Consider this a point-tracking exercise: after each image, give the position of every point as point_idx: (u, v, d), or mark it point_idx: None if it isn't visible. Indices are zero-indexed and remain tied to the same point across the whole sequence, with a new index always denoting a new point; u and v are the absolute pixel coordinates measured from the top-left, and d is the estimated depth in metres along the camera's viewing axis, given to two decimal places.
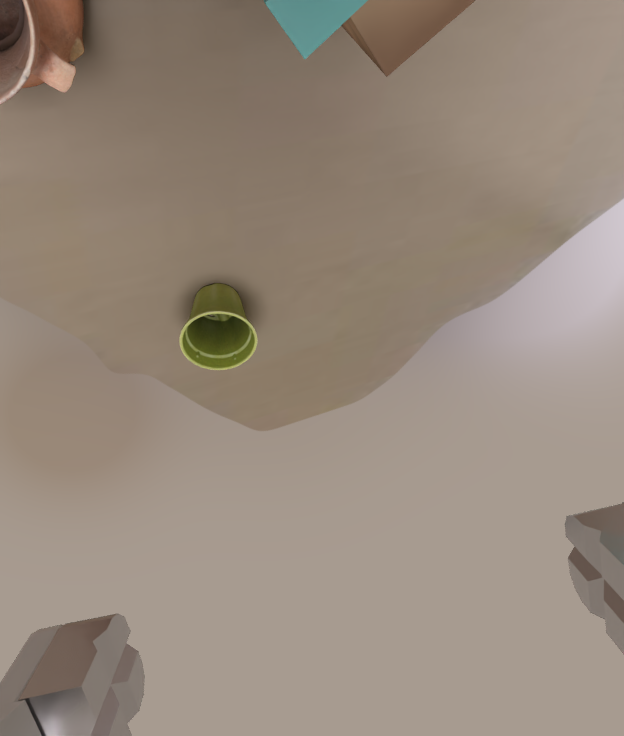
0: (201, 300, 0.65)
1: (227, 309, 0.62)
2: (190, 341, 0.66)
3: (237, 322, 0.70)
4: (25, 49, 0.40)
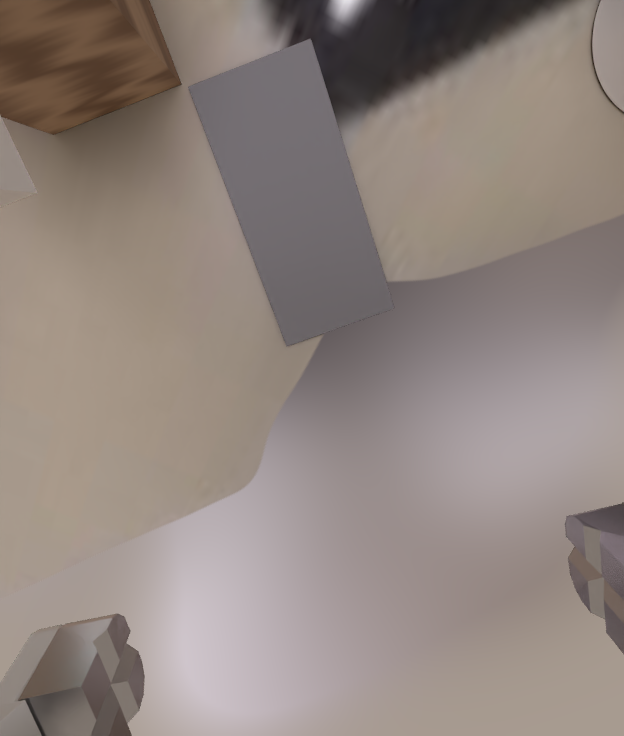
0: None
1: None
2: None
3: None
4: None
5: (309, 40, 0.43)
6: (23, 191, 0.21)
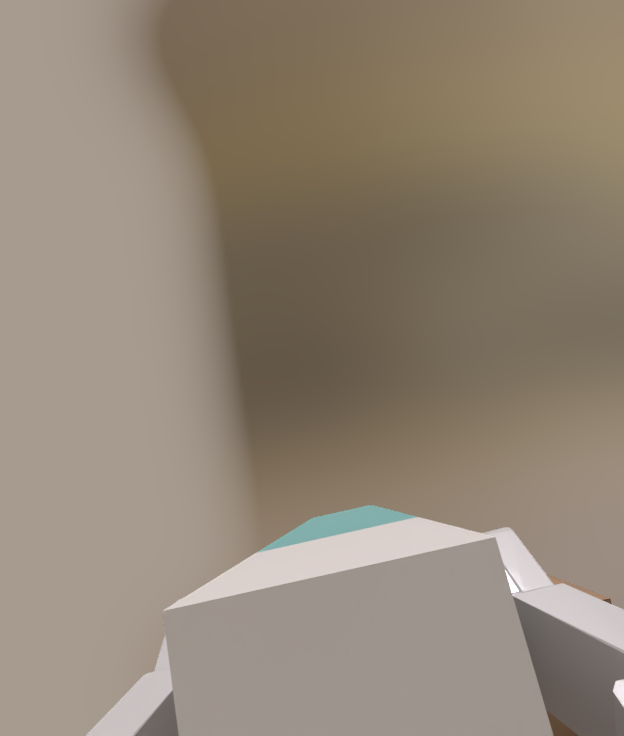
0: None
1: None
2: None
3: None
4: None
5: None
6: None
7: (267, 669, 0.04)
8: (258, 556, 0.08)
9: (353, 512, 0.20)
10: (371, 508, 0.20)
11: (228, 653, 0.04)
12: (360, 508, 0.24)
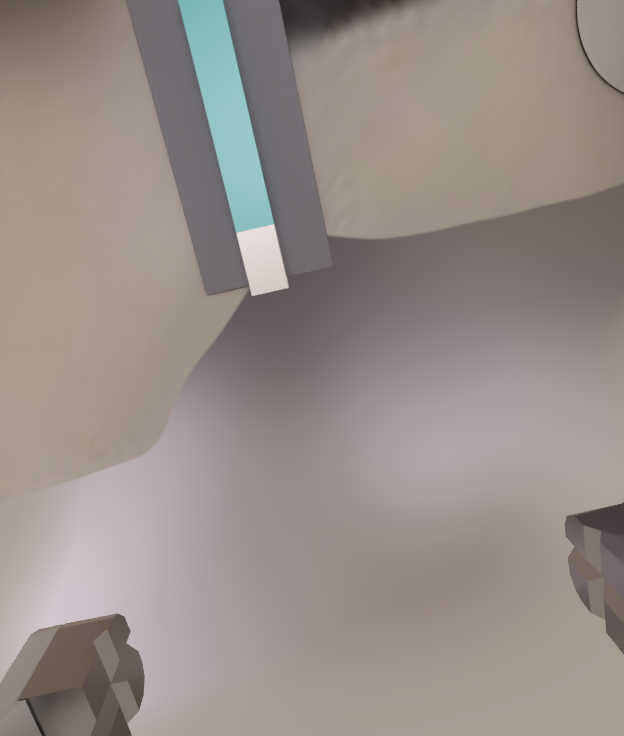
0: None
1: None
2: None
3: None
4: None
5: None
6: (288, 285, 0.43)
7: None
8: (242, 245, 0.40)
9: (224, 68, 0.37)
10: (233, 66, 0.37)
11: (258, 294, 0.42)
12: (216, 10, 0.36)
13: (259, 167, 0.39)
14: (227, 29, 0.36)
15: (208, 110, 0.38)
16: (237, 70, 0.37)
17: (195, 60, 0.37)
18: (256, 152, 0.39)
